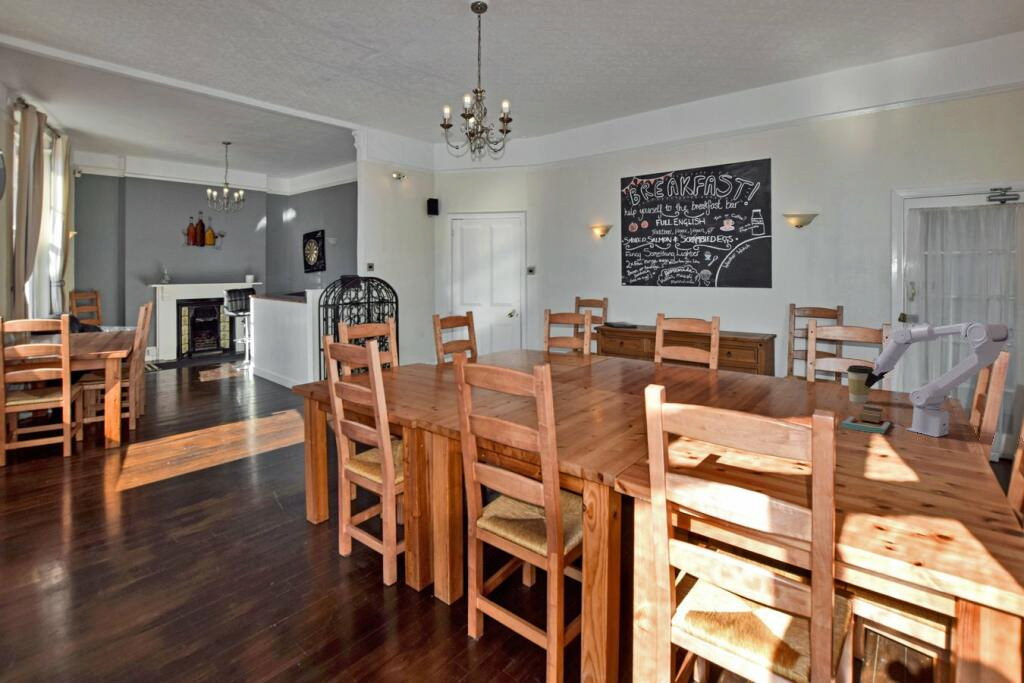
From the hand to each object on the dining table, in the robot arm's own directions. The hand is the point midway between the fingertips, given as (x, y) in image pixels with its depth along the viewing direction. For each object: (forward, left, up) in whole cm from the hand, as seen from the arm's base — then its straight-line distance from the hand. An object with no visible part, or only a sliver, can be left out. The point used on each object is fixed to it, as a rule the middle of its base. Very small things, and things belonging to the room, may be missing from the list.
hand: (871, 382), depth 202 cm
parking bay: (-7, +16, -13) cm, 22 cm away
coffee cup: (+15, -20, -13) cm, 29 cm away
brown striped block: (-4, +6, -13) cm, 15 cm away
